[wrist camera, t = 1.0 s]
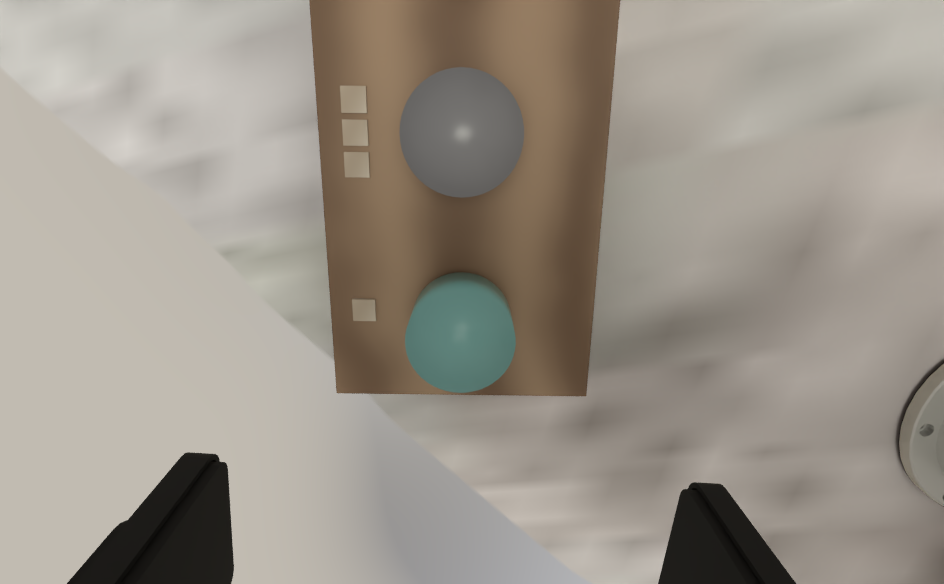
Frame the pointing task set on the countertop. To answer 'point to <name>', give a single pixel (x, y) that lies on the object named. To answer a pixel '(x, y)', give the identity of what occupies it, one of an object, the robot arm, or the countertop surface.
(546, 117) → the button panel
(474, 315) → the button teal one
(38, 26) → the countertop surface
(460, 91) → the button charcoal three
